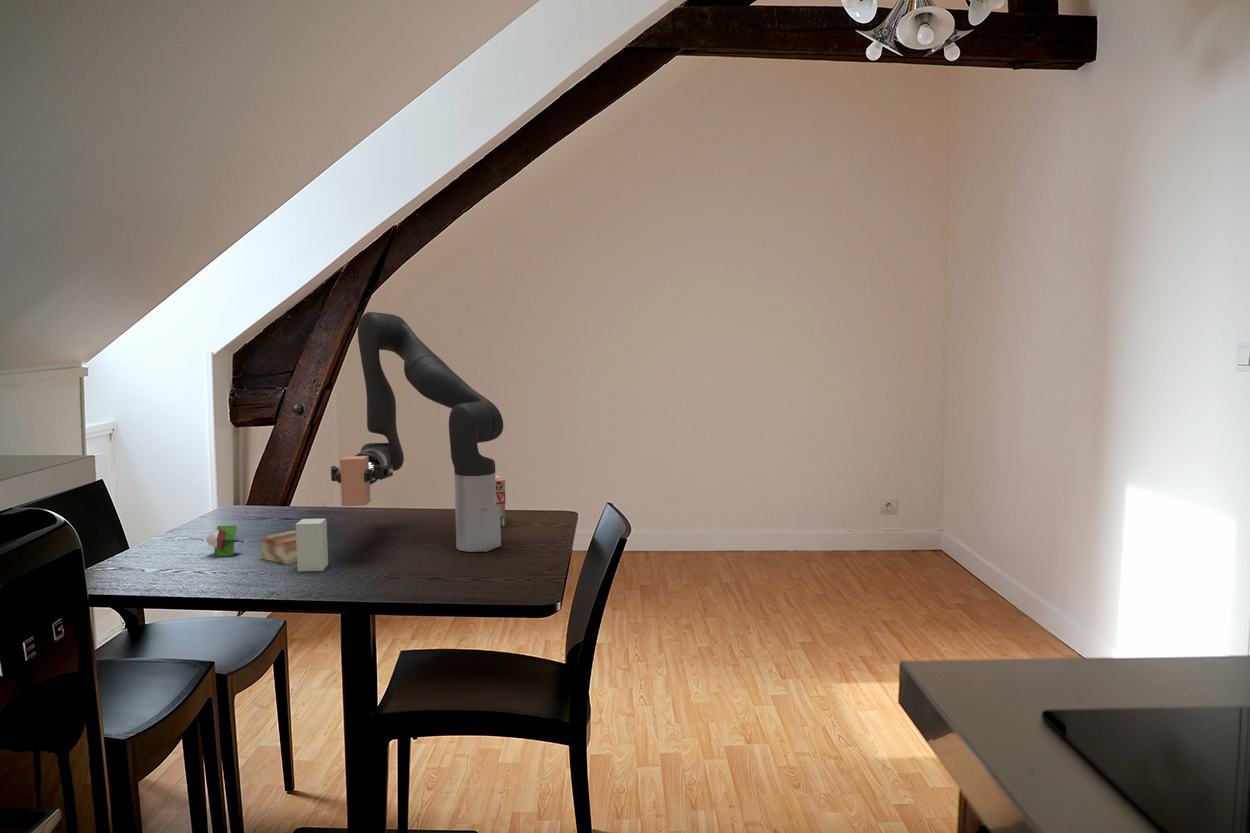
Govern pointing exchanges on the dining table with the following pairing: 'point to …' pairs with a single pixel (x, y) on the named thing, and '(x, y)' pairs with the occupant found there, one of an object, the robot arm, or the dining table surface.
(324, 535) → the sage block
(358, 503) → the terracotta block
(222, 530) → the geometric puzzle
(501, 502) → the stack of blocks
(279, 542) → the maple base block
